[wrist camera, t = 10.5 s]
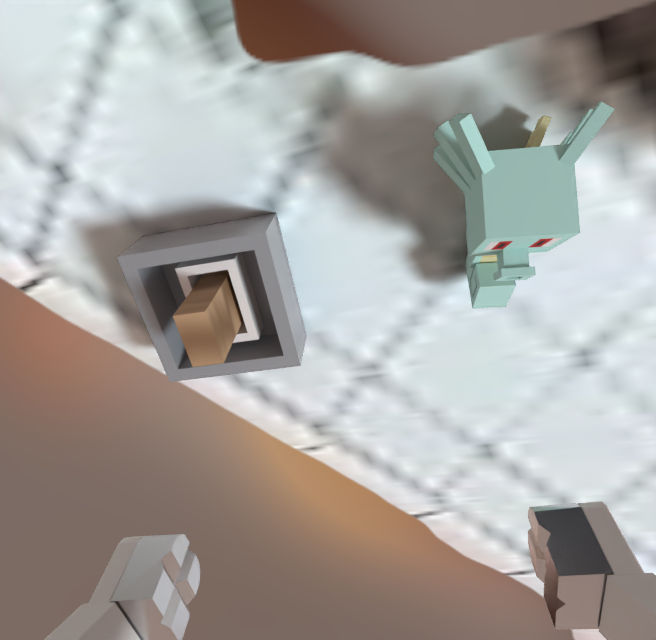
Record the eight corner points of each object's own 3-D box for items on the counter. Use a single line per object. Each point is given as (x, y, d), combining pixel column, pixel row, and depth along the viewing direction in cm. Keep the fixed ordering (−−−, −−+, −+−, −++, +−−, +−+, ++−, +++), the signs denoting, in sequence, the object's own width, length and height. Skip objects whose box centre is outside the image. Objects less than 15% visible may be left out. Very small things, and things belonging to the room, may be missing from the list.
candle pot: (142, 236, 41) (116, 257, 36) (276, 212, 39) (265, 232, 35) (187, 351, 46) (169, 381, 42) (306, 335, 45) (300, 365, 40)
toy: (451, 309, 41) (432, 318, 27) (442, 154, 41) (417, 82, 27) (582, 301, 38) (637, 307, 24) (573, 133, 37) (625, 36, 23)
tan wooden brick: (204, 272, 41) (172, 316, 34) (232, 268, 41) (205, 311, 34) (219, 317, 43) (192, 367, 36) (246, 313, 43) (223, 363, 36)
